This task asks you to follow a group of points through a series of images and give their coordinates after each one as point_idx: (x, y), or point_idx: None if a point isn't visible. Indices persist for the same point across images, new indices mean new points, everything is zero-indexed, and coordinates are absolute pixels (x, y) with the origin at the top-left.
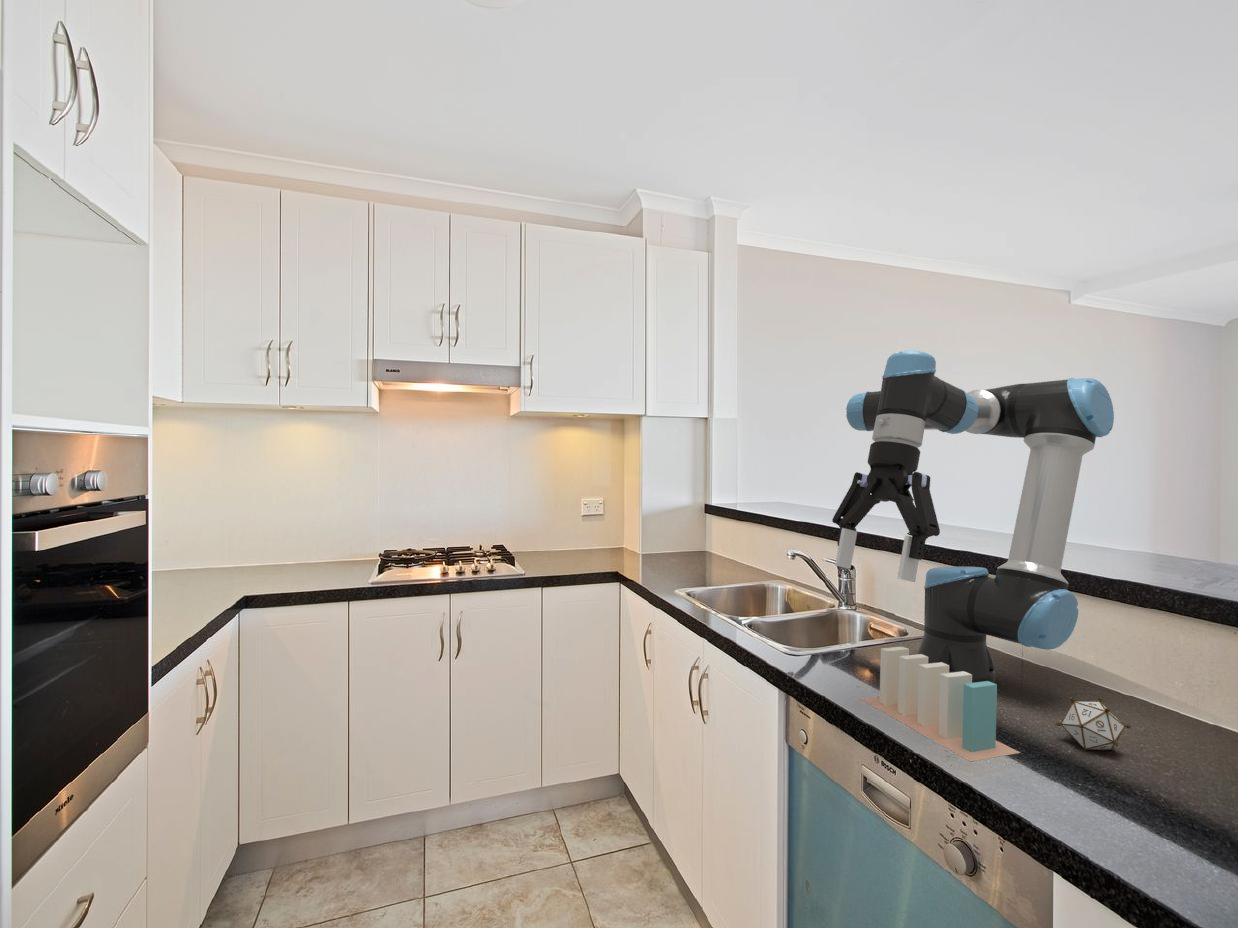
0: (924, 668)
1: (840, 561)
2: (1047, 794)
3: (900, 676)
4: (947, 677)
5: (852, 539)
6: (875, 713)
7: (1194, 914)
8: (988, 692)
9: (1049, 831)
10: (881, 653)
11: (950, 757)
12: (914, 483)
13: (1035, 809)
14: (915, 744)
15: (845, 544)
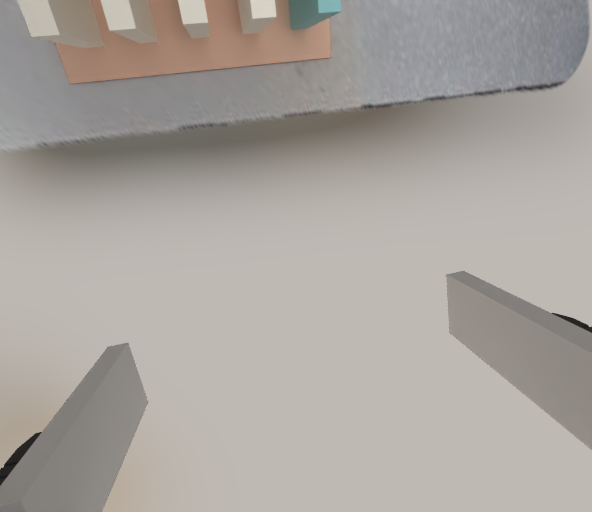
0: (203, 23)
1: (140, 409)
2: (416, 6)
3: (129, 35)
4: (273, 16)
5: (70, 466)
6: (132, 86)
7: (574, 68)
8: None
9: (462, 89)
10: (41, 38)
11: (303, 70)
12: None
13: (431, 63)
14: (257, 98)
15: (103, 468)
